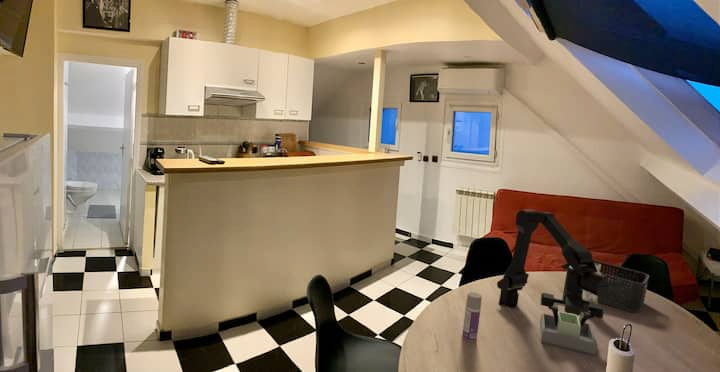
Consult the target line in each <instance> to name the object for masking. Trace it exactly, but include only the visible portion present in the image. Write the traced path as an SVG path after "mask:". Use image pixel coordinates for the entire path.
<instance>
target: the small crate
mask: <svg viewBox="0 0 720 372" xmlns="http://www.w3.org/2000/svg"><path fill="white" fill-rule="evenodd" d="M579 319H580V317H579V315H576V314H572V313H566V312H565V311H559V310H558V323H557V327H556V332H557V334H561V335H565V336H569V337H573V338H578V339H579V335H580V329H581V324H580V321H579Z"/></svg>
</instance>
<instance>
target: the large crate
mask: <svg viewBox="0 0 720 372" xmlns="http://www.w3.org/2000/svg"><path fill="white" fill-rule="evenodd" d="M539 330H540V331H539V332H540V333H539V334H540V343H541V344H544V345H549V346H553V347H558V348H562V349H566V350H570V351H573V352H577V353H578V352H579V353H582V354H586V355H590V356H594V357H595V356H596V354H597V348H598V343H597V339H596V336H595V333H594V330H593V327H592V324H591V323H589V322H585V323H584V325H583V326H582V328H581V329H580V335H579V339H578V338H573V337H569V336H565V335H561V334H557V332H556V325H555V319H554V314H549V313H546V312H545V313H544V312H541V314H540V320H539Z"/></svg>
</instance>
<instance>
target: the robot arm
mask: <svg viewBox="0 0 720 372" xmlns="http://www.w3.org/2000/svg"><path fill="white" fill-rule="evenodd" d="M539 224H541V225H542V226H543V227H544V229H545V230H546V231H547V232H548V234H550V236H551V237H552V238H553V240H554V241H555V242H556V244H557V245H558V246H559V247H560V249H561V255H562V257H563V259H564V260H565V262H566V263H565V264H563V265H561V268H562V269H563V270H566V274H565V281H564V286H563V292H562V298H561V299H559V298H555V296H554V294H551V293H546V292H542V293H541V295H540V299H539V300H540V305H541V306H544V307H547V308H548V309H549V310H551V311H552V315H554V319H555V325H556V327H557V323H558V311H559V306H561V307H564V313H569V314H574V315H578V316H580V317H579V321H580V324H581V328H582V326H583V325H584V323H587V321H588V320H589V319H591V320H592V319H594V318H598V319H604V313H605V312H604V308H603V307H602V305H601V303H598V304H595V303H590V302H589V301H585V300H583V299H582V294H583V290H585V291H587V292H589V293H591V294H594V295H596V296H598V297H601V298H602V297H604V296H606V295H607V293H608V291H609V288H610V286H609V283H608V281H607V280H606V278H607V277H606V276H604V275H600V274H597V273H596V272H598V271H597V269H596V266H595V264H594V262H593V260H594V259H593V255H592V252H591V251H590V250H589V249H588V248H587V247H586V246H584V245H583V244H581V243H579V242H577V241H576V240H575V239H573V237H572V236H571V235H570V234H569V233H568V231H567V230H566V229H565V228H564V226H563V225H562V224H561V222H559V221H558V220H557V218H556V217H555V214H554V213H552V212H549V211H546V212H545V211H544V212H543V211H542V212H538V211H537V210H536V209H521V210H519V211H517V213H516V215H515V226H516V229H517V235H516V239H515V240H516V241H515V245H514V250H513V254H512V259H511V263H510V266H508V268H507V269H506V270H505V272H504V273H503V274H504V275H503V276H502V278H501V279H499V280H498V281H497V282H496V284H497V285H496V286H497V288H498V289H500V292H499V293H500V295H499V300H498V304H499V305H501V306H507V307H509V308H510V307H511V308H515V309H516V308H517V305H518V303H519V297H520V293H518V292H519V291H523V288H525V286H526V284H528V279H529V273H528V272H526V269H525V267H526V266H525V265H526V261H527V258H528V257H527V256H528V252H529V247H530V244H531V239H532V235H533V233H534V232H535V231H536V230H537V228H538V227H539ZM580 266H587V267H583V268H580Z"/></svg>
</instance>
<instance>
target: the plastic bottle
mask: <svg viewBox="0 0 720 372" xmlns="http://www.w3.org/2000/svg"><path fill="white" fill-rule="evenodd" d="M594 264H595V266H596V269H597V271H598V272H596V273H597V274H600V275H601V273H600V271H599V270H600V269H601V265H600V264H597V263H596V262H595V263H594ZM582 299H583V300H585V301H589V302H590V303H595V304H599V302H598V296H596V295H594V294H591V293H589V292H587V291H585V290H583V294H582Z"/></svg>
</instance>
